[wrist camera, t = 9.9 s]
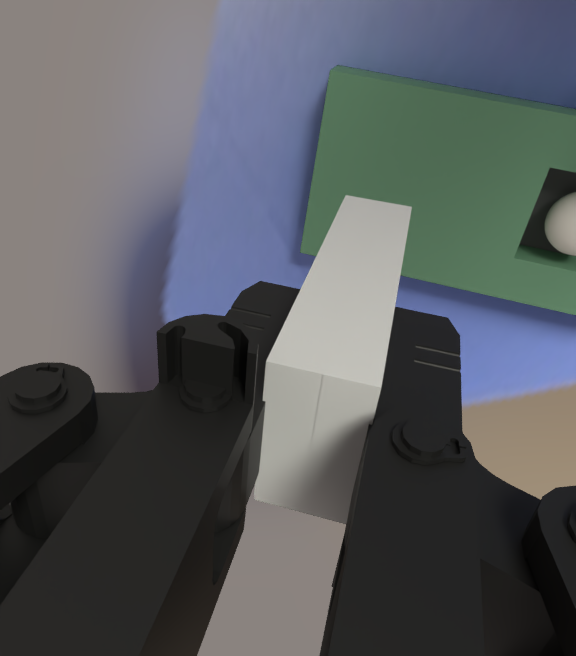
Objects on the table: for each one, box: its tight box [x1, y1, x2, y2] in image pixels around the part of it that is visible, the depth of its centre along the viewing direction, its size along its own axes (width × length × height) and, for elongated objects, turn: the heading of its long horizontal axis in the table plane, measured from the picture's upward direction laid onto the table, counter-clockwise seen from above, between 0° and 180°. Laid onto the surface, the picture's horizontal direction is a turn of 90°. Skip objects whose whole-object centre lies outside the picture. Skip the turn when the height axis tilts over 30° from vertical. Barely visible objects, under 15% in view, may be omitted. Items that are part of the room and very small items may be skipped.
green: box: [300, 65, 576, 315], centre depth 36 cm, size 12×22×3 cm, turn 82°
